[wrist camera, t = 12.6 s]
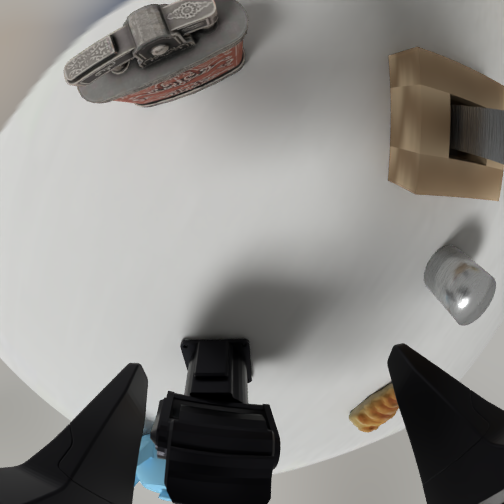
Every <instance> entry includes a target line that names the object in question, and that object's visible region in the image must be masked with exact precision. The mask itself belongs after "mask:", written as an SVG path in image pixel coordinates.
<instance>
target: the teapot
mask: <svg viewBox="0 0 504 504" xmlns="http://www.w3.org/2000/svg"><path fill="white" fill-rule="evenodd" d="M165 465H166V460H165V459H159V458H157V450H156V449H155V444H154V443H153V441H152V440H151V439H150V434H146V435H144V436H142V439H141V445H140V450H139V457H138V463H137V469H136V476H135V483H134V486H135V485H136V484H137V483H138V482H139V481H140V482H141V484H142V485H143V486H144V487H145V488H147V489H149V490H151V491H154V492H157V493H160V495H159V498H160V499H163V500H166V501H171V499H170V497H169V495H168V493H167V490H166V489H167V488H166V487H165V484H164V477H165Z"/></svg>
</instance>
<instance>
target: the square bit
mask: <svg viewBox="0 0 504 504" xmlns="http://www.w3.org/2000/svg"><path fill="white" fill-rule="evenodd" d="M449 148H451V149H455V150H459V151H463V152H466V153H470V154H473V155H476V156H480V157H483V158H486V159H489V160H492V161H495V162H498V163H501V164H503V165H504V110H498V109H491V108H482V107H473V106H461V105H450V145H449Z"/></svg>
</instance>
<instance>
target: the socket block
mask: <svg viewBox="0 0 504 504" xmlns="http://www.w3.org/2000/svg"><path fill="white" fill-rule="evenodd" d="M388 57H389V71H390V92H391V136H390V159H389V174H388V181H390V182H393V183H395V184H397V185H399V186H401V187H403V188H405V189H406V190H408V191H410V192H412V193H414V194H418V195H436V196H450V197H463V198H474V199H485V200H494V201H499V197H500V191H501V184H502V177H503V168H504V165H503V164H501V163H498V162H495V161H492V160H489V159H486V158H483V157H480V156H476V155H473V154H470V153H466V152H463V151H459V150H455V149H451V148H449V145H450V105H461V106H473V107H482V108H491V109H498V110H504V86H503V85H501V84H500V83H498V82H496V81H494V80H492V79H491V78H489V77H487V76H485V75H483V74H481V73H479V72H477V71H475V70H473V69H471V68H469V67H467V66H465V65H463V64H460V63H458V62H456V61H454V60H451V59H449V58H446V57H444V56H441V55H439V54H436V53H434V52H431V51H428V50H425V49H423V48H420V47H415V48H411V49H408V50H405V51H402V52H398V53H395V54H392V55H389V56H388Z"/></svg>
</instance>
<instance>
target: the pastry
mask: <svg viewBox="0 0 504 504" xmlns="http://www.w3.org/2000/svg"><path fill="white" fill-rule="evenodd" d="M398 408H399V406H398V403H397V400H396V397H395V393H394V389H393V384H392V383H391V384H388V385H387V386H386V387H384V388H383V389H381V390H379V391H378V392H376V393H374V394H372V395H370V396H369V397H368V398H367V399H366V400H364V401H363V402H362V403H361V404H359V405H358V406H357V407H356V408H354V409H353V410H352V411H351V413H350V415H349V419H350V421H351V422H352V423H353V425H355V426H357V427H358V429H359V430H360V431H363V432H371V431H373V430H376V429H378V426H380V425H381V424H383V423H385V422H386V421H387V420H389V419H391V418H392V417H393V416H394V415H395V414H396V411H397V410H398Z"/></svg>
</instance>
